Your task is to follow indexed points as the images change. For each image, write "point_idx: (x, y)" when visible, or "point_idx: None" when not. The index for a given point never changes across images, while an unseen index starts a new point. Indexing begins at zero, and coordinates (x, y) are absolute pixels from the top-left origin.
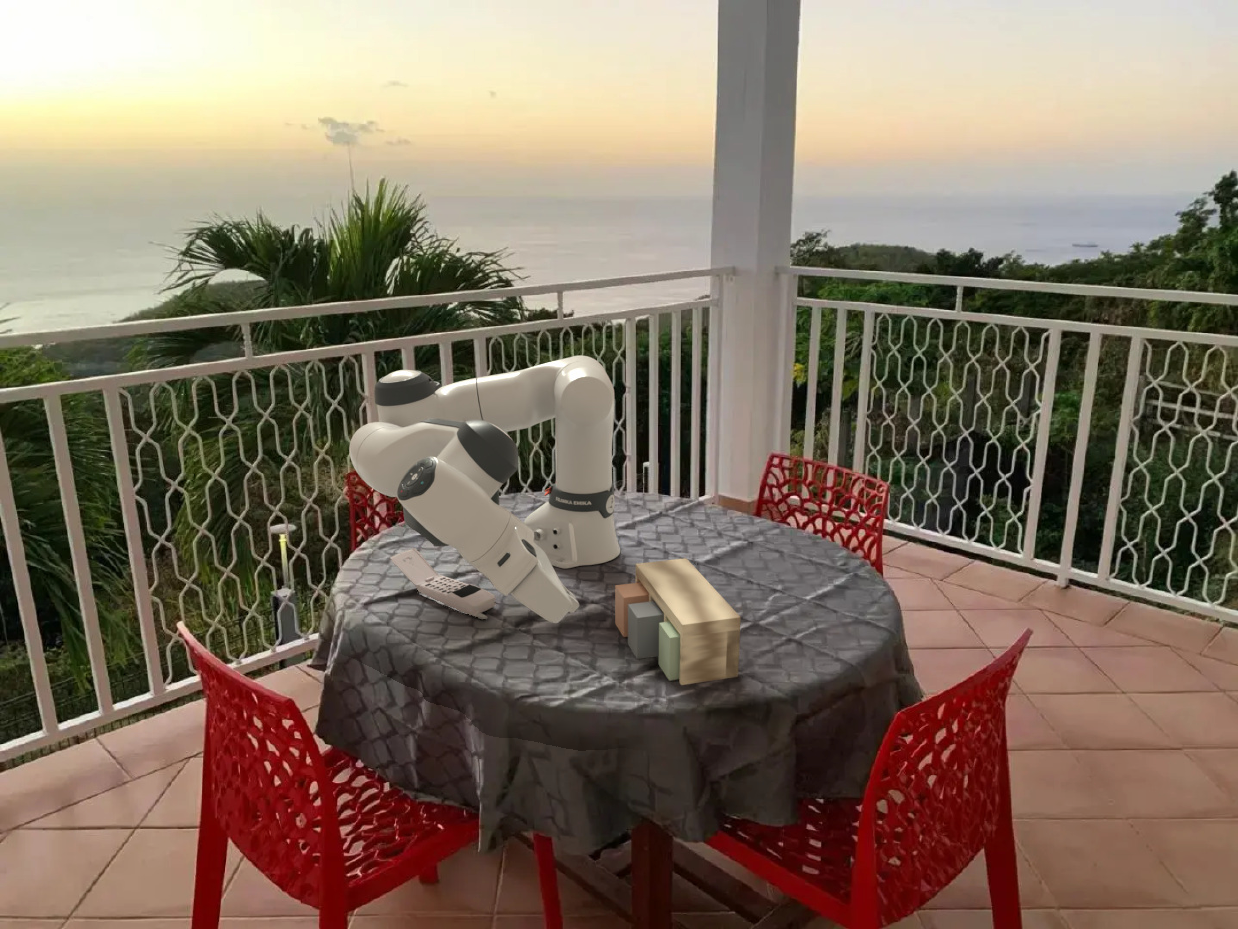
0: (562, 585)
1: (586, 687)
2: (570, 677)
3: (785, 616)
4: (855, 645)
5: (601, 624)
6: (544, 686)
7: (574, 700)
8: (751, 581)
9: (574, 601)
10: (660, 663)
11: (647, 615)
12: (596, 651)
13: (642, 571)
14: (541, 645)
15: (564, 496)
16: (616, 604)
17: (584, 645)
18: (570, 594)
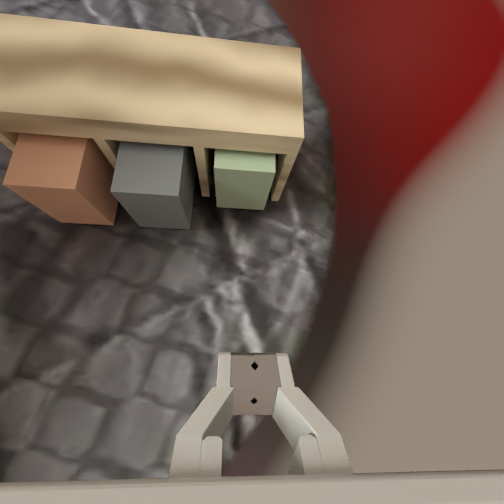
0: (409, 489)
1: (240, 327)
2: (202, 344)
3: (150, 22)
4: (246, 3)
5: (45, 243)
6: None
7: None
8: (29, 6)
9: (291, 373)
10: (225, 204)
11: (175, 175)
12: (135, 279)
13: (15, 110)
14: (69, 369)
15: None
16: (41, 204)
17: (106, 292)
18: (256, 382)
